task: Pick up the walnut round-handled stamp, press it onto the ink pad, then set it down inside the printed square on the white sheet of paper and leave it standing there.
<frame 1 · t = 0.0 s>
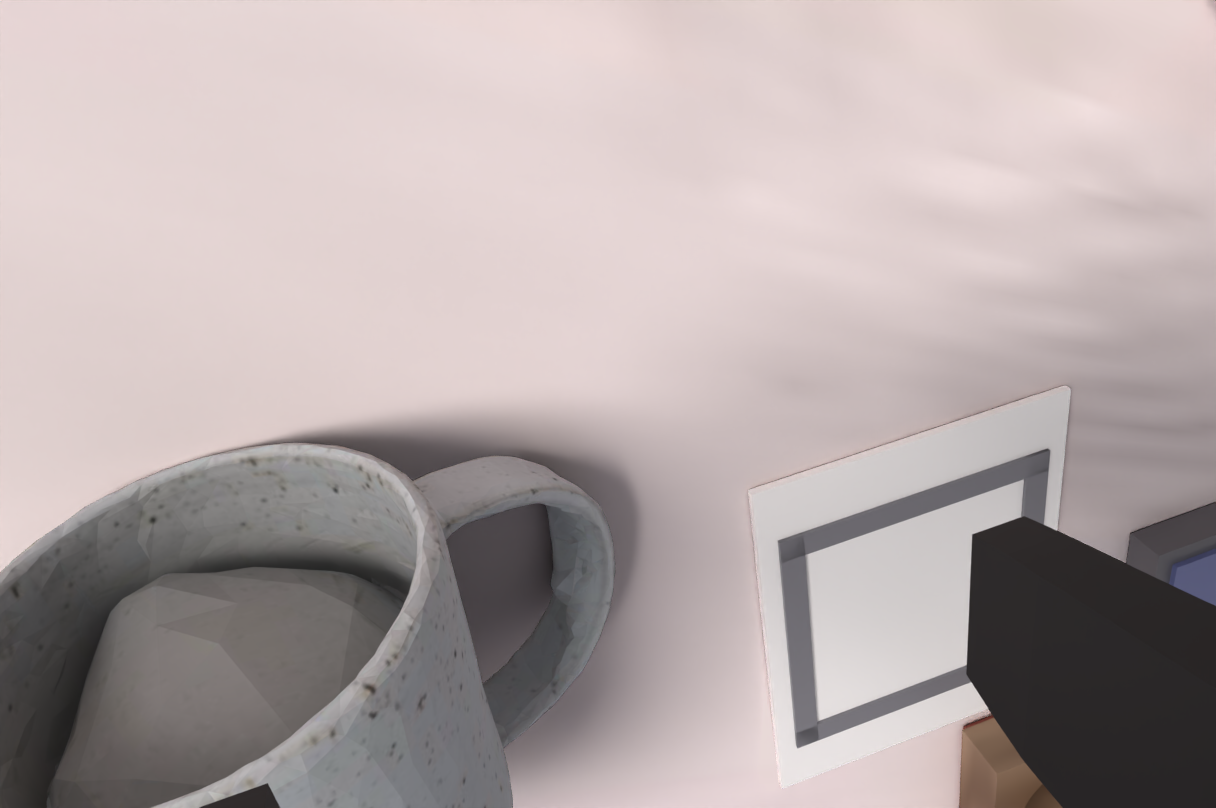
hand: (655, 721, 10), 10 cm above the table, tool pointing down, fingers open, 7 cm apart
paper: (911, 598, 26), on the table
ink pad: (1215, 614, 31), on the table
stamp: (1028, 749, 31), on the table
ceramic mug: (327, 577, 21), on the table
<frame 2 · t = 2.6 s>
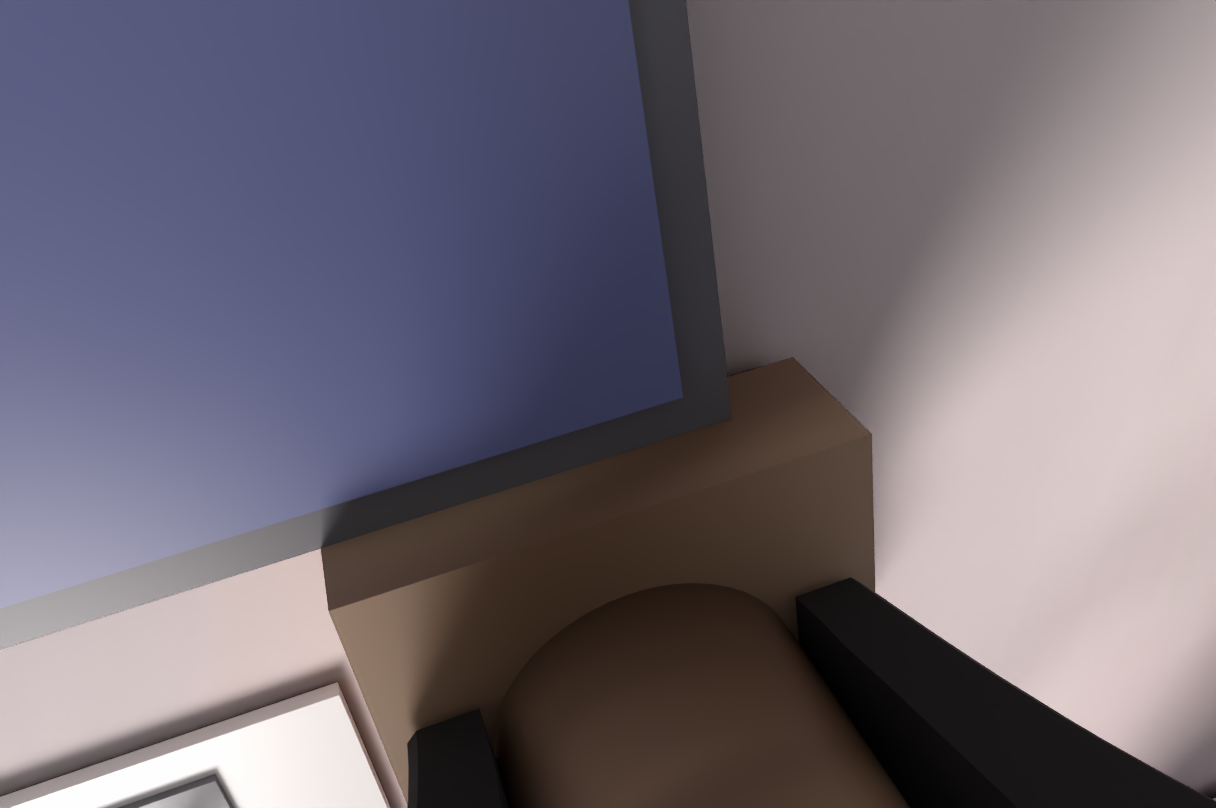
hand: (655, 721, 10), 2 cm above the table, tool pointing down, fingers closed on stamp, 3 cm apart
ink pad: (114, 156, 8), on the table
stamp: (595, 593, 12), on the table, touching gripper
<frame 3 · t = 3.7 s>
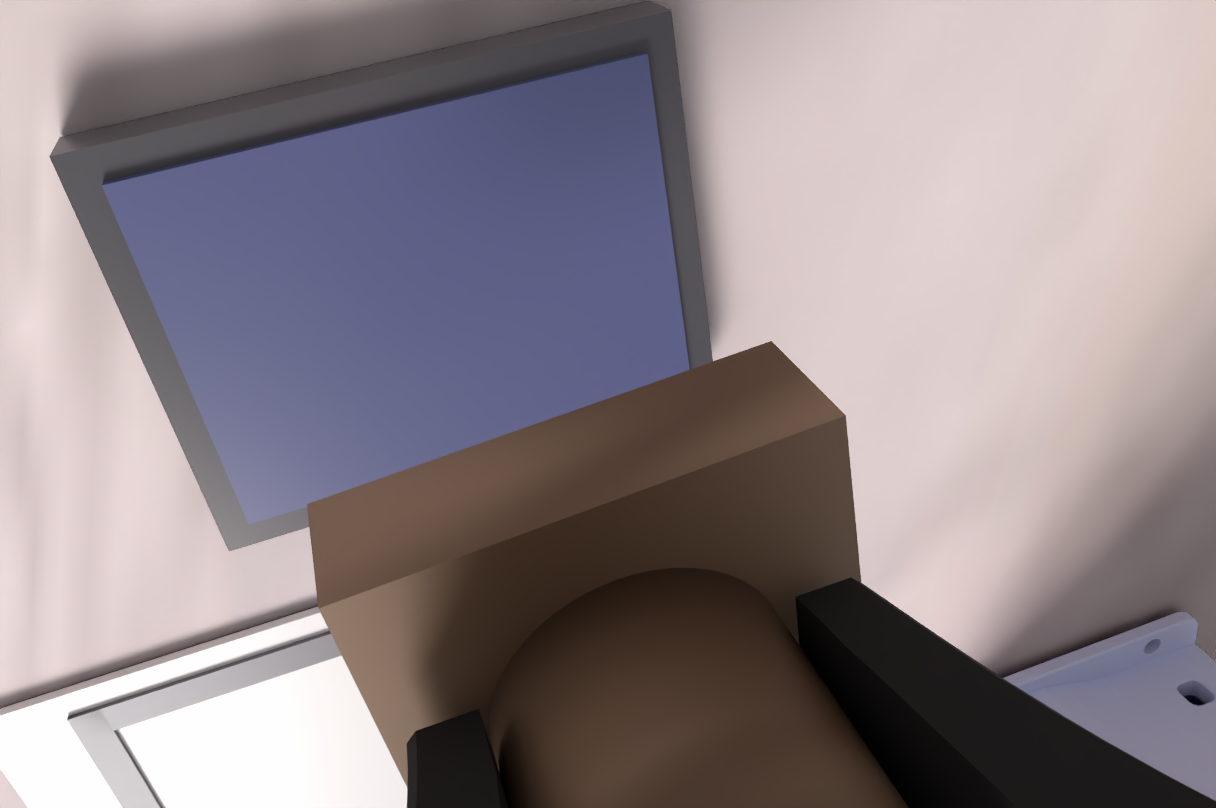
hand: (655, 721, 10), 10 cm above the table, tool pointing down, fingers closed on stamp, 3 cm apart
paper: (312, 766, 22), on the table
ink pad: (426, 275, 18), on the table
stamp: (590, 579, 12), point 7 cm above the table, touching gripper
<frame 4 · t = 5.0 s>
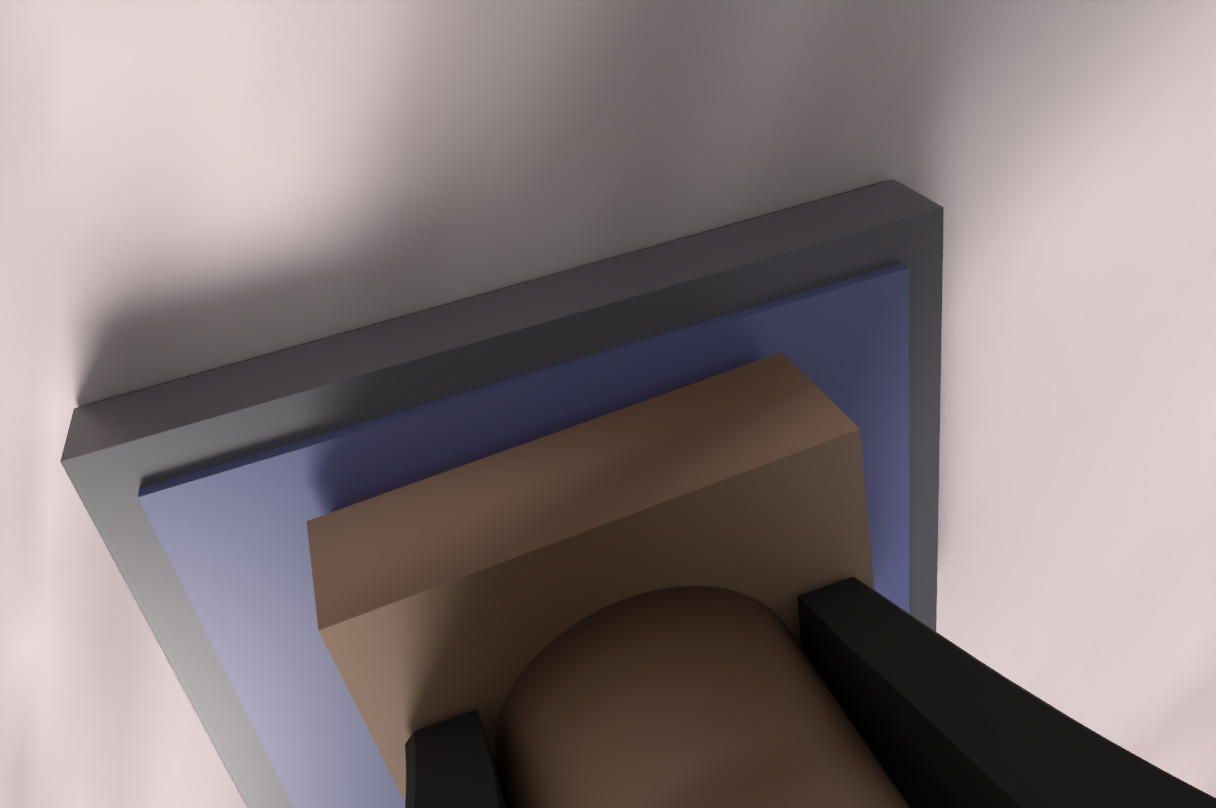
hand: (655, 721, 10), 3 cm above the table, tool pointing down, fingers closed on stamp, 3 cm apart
ink pad: (570, 538, 13), on the table
stamp: (596, 595, 12), point 1 cm above the table, touching gripper, ink pad
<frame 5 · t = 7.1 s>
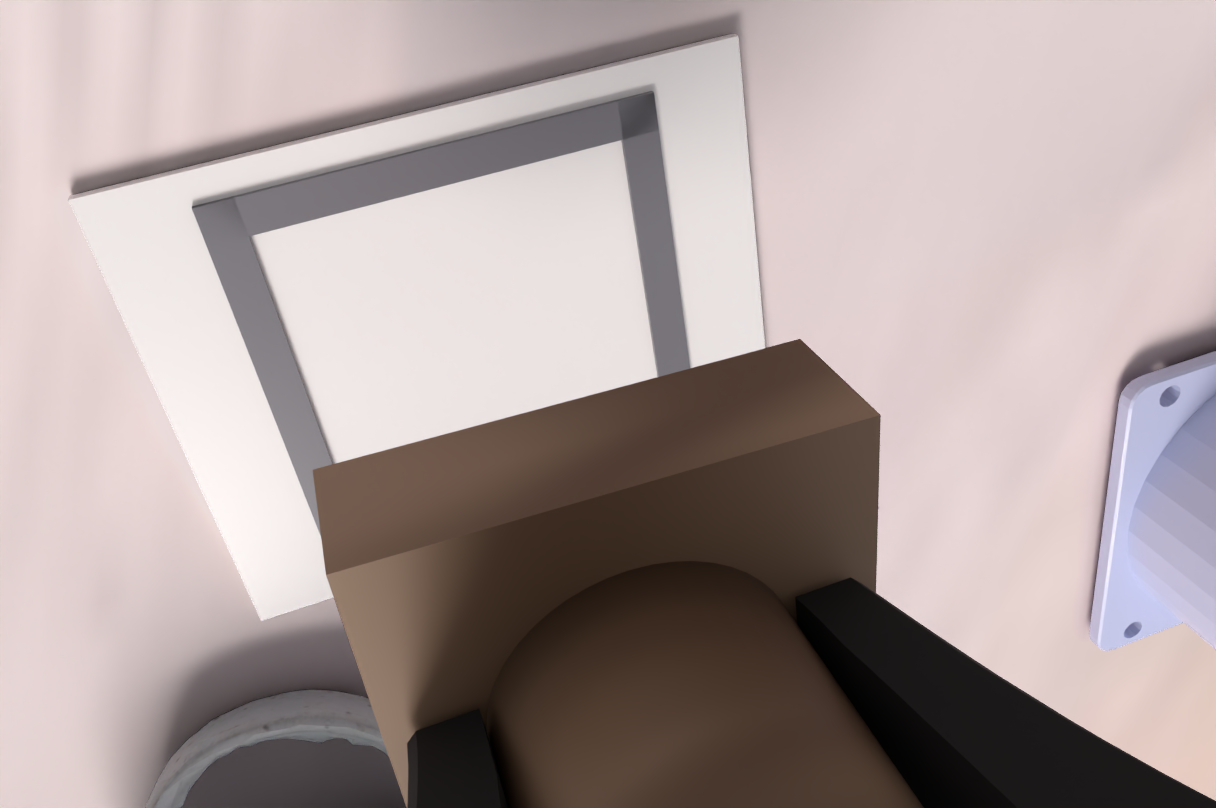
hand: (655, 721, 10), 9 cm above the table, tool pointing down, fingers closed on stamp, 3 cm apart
paper: (480, 344, 17), on the table
stamp: (591, 574, 12), point 7 cm above the table, touching gripper
when the fingers open (2 cm above the table, at t = 8.8 s): stamp stays where it is, resting on paper.
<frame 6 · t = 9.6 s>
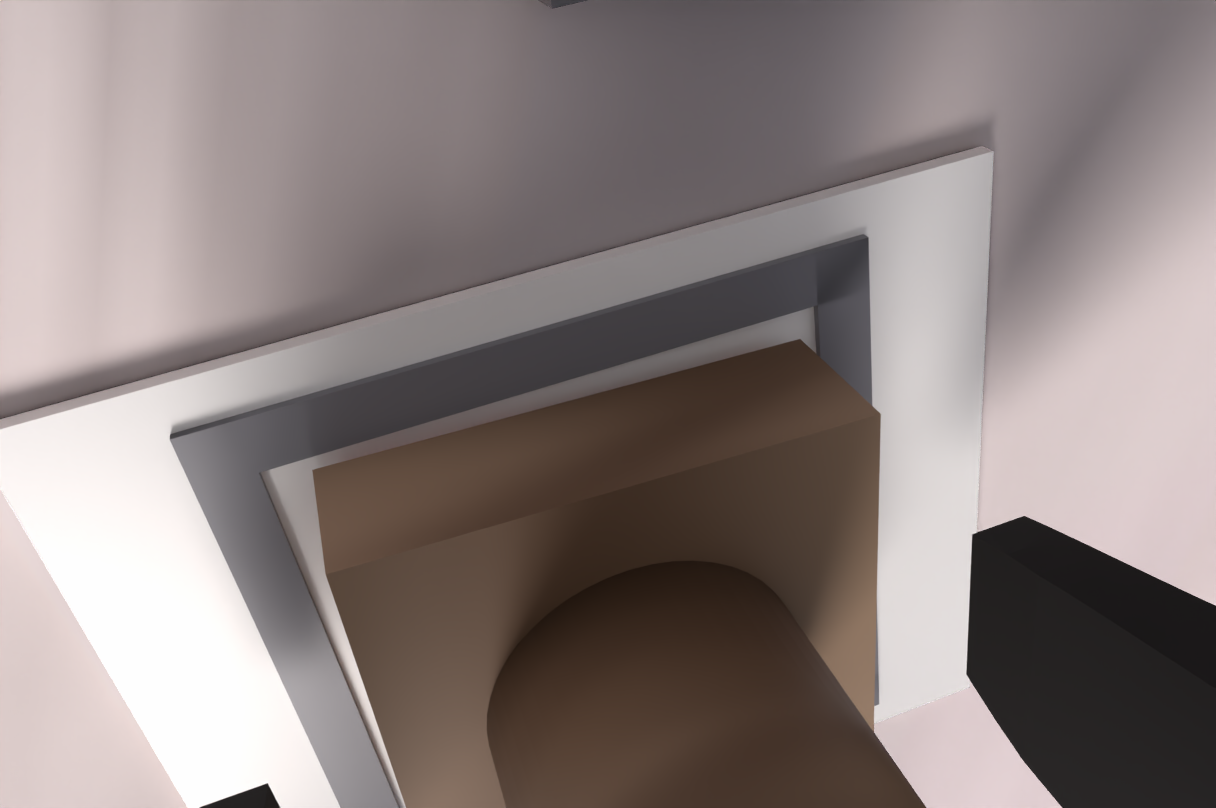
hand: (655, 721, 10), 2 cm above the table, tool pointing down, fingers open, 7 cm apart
paper: (591, 583, 12), on the table
stamp: (591, 575, 12), resting on paper
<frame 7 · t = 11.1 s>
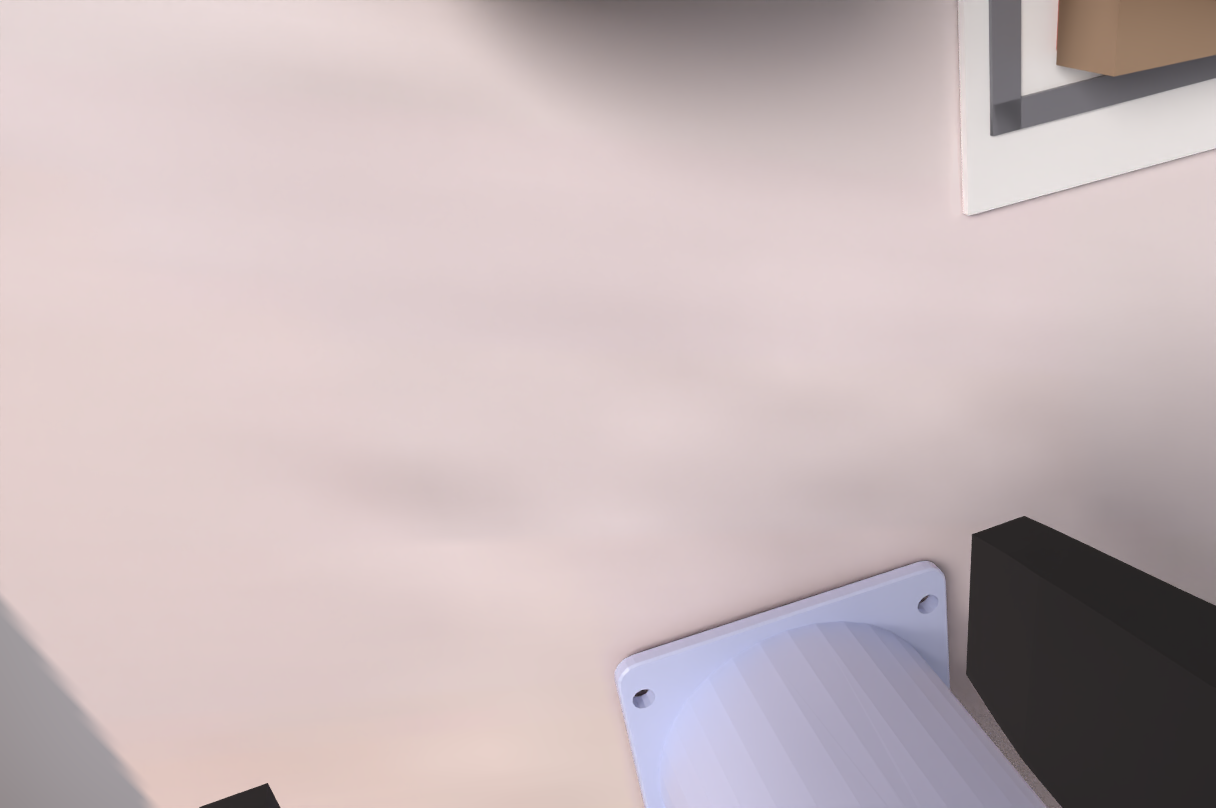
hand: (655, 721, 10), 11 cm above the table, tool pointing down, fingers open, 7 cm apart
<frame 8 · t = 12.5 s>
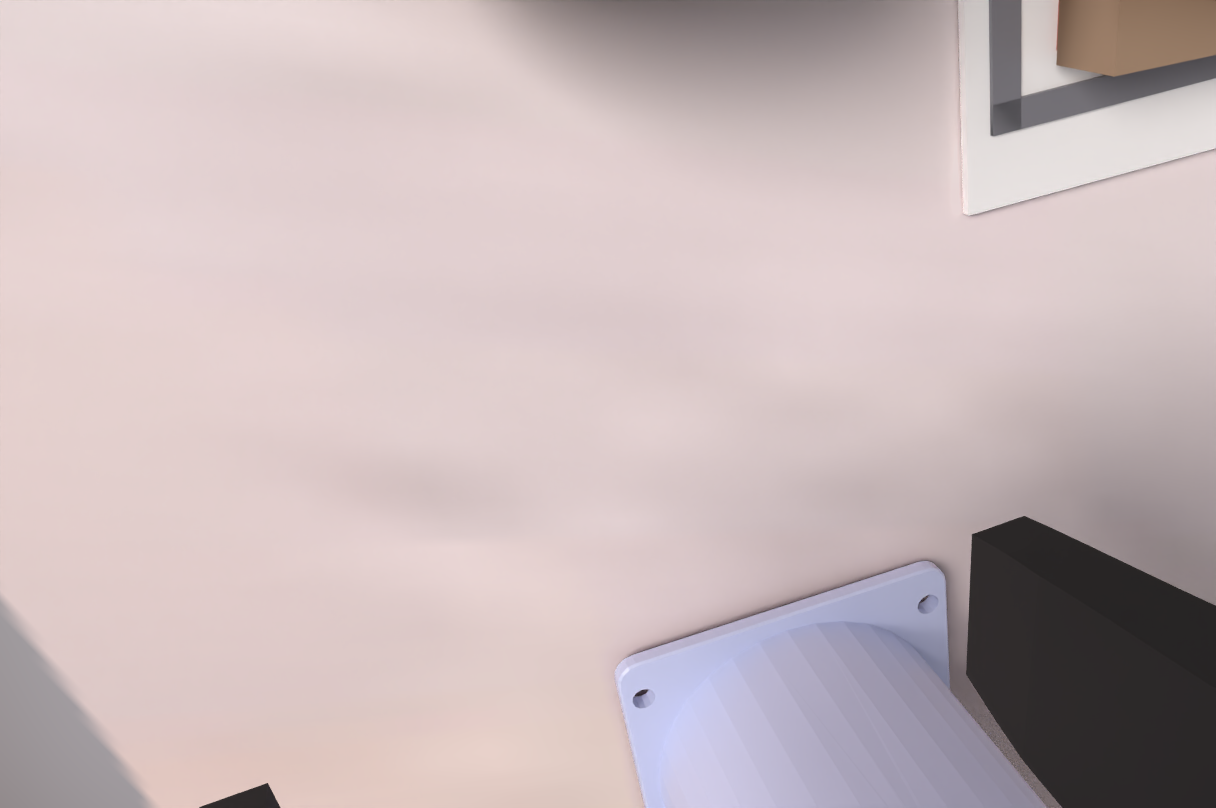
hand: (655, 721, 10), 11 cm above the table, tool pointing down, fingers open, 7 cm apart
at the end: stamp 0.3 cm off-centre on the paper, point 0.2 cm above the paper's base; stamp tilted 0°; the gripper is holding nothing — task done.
